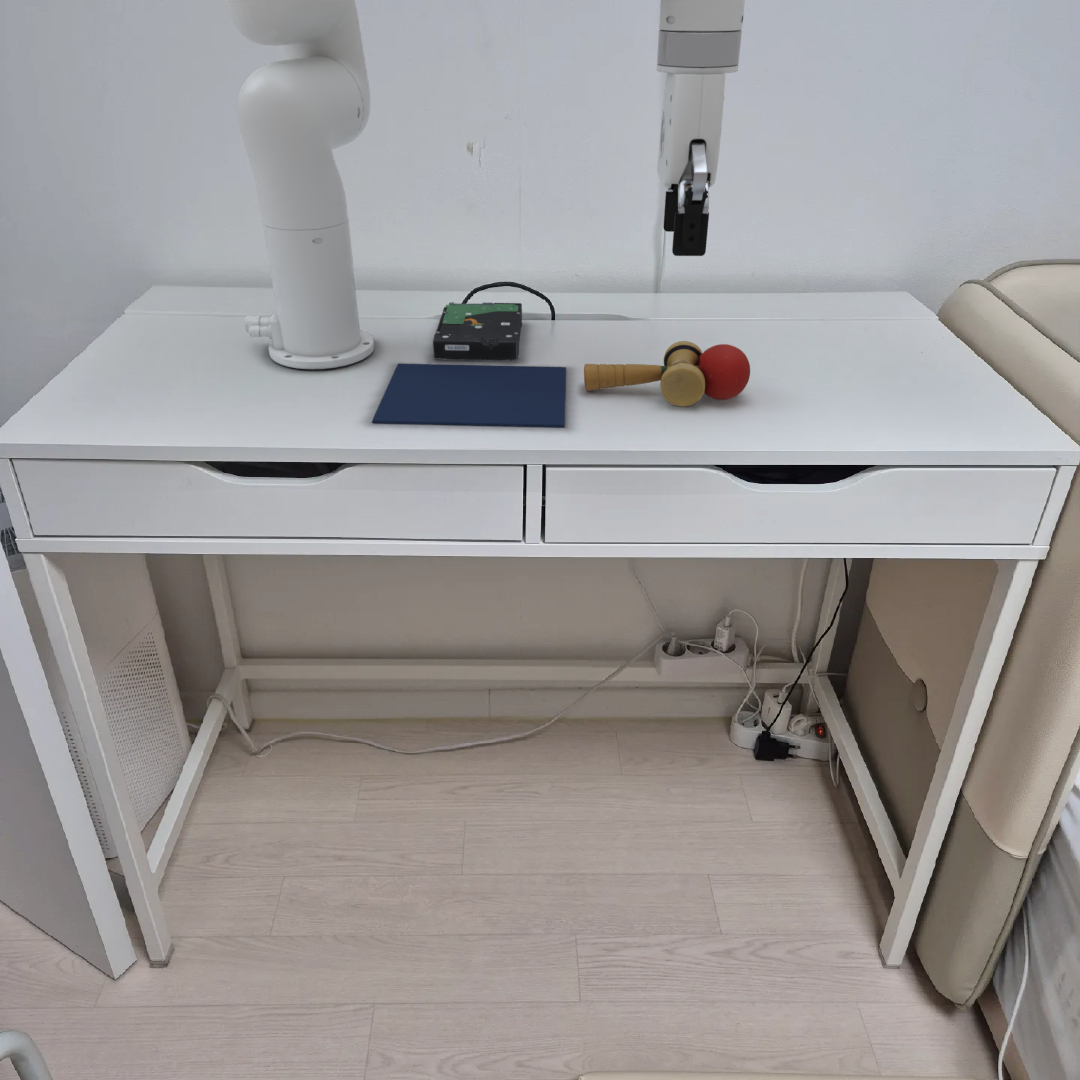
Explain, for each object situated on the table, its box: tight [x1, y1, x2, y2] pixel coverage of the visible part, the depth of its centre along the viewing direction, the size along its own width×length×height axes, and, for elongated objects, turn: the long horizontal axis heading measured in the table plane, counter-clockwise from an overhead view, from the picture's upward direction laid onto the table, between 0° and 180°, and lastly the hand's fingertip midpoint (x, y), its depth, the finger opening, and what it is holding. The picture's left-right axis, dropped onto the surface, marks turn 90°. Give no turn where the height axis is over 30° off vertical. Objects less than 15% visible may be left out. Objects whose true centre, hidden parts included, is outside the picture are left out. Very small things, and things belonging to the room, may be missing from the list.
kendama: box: [583, 340, 751, 407], centre depth 99 cm, size 8×6×18 cm
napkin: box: [371, 363, 567, 428], centre depth 100 cm, size 20×16×1 cm
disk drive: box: [432, 301, 523, 362], centre depth 113 cm, size 10×3×15 cm
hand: (683, 242), depth 92 cm, fingers open, 9 cm apart
